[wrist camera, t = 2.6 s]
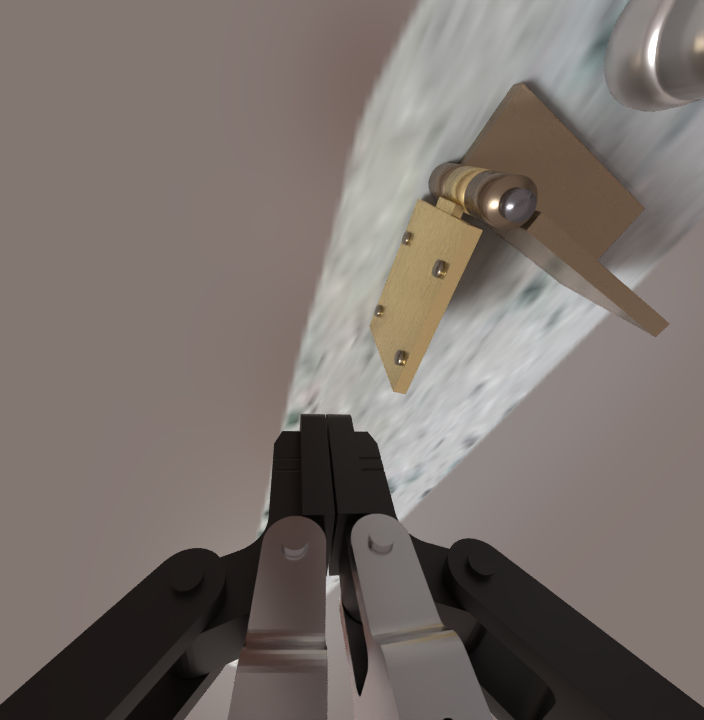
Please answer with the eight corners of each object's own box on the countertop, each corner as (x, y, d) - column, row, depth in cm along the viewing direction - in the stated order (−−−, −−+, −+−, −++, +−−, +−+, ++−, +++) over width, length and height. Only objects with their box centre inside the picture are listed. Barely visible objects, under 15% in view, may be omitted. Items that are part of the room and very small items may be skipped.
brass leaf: (431, 154, 24) (491, 162, 17) (472, 170, 25) (547, 185, 18) (366, 325, 30) (389, 390, 22) (401, 334, 31) (435, 400, 23)
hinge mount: (499, 71, 23) (623, 31, 14) (632, 205, 28) (783, 237, 19) (421, 188, 26) (484, 214, 17) (554, 291, 31) (656, 352, 22)
